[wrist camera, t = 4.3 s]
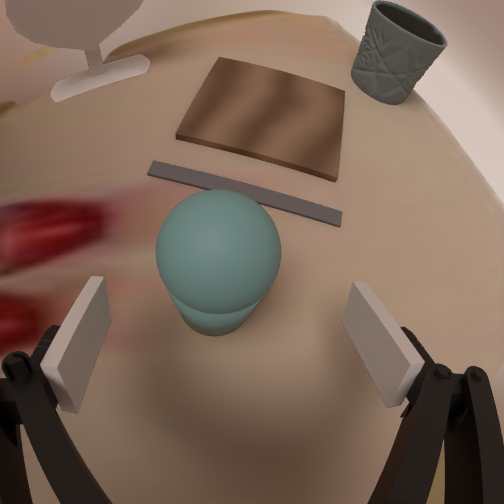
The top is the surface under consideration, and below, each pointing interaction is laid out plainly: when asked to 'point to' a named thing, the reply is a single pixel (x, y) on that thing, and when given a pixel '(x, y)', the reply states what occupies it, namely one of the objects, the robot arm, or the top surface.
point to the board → (268, 117)
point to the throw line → (246, 192)
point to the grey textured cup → (395, 52)
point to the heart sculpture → (78, 37)
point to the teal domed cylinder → (217, 258)
